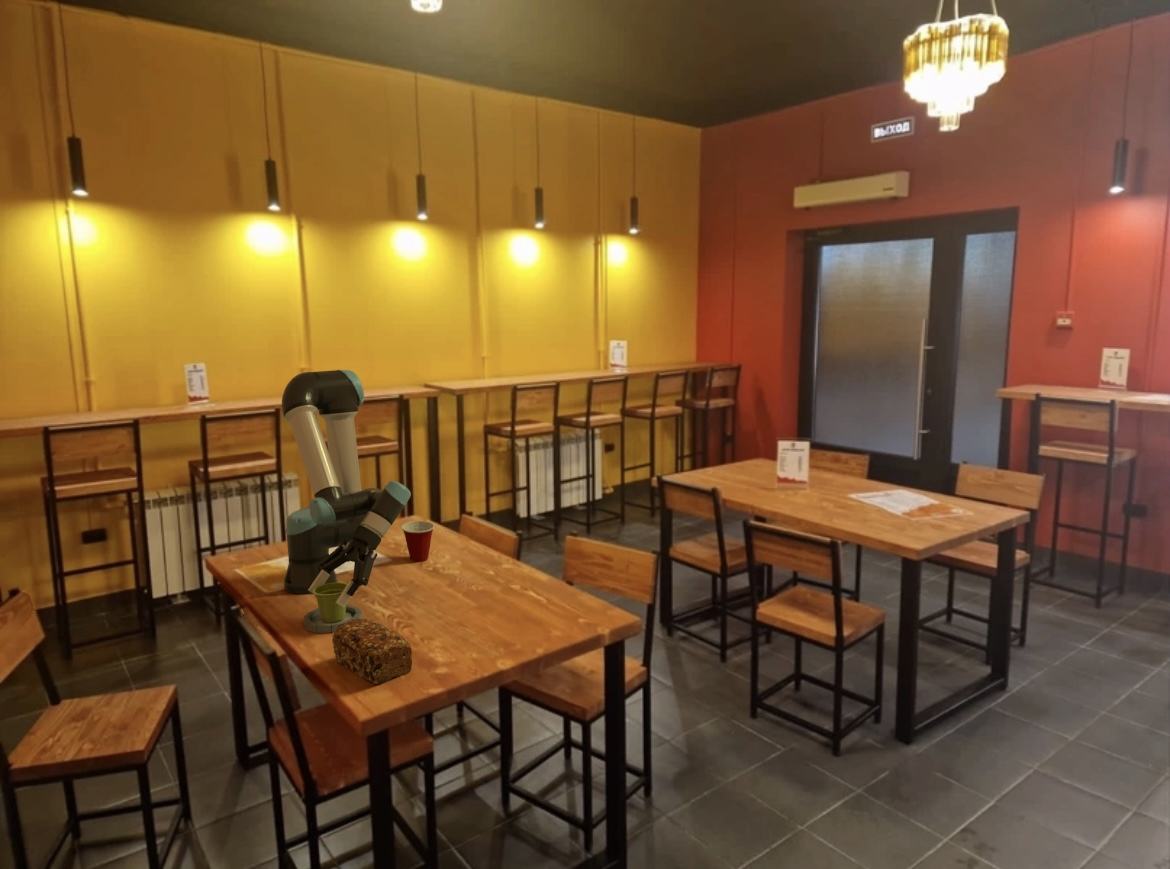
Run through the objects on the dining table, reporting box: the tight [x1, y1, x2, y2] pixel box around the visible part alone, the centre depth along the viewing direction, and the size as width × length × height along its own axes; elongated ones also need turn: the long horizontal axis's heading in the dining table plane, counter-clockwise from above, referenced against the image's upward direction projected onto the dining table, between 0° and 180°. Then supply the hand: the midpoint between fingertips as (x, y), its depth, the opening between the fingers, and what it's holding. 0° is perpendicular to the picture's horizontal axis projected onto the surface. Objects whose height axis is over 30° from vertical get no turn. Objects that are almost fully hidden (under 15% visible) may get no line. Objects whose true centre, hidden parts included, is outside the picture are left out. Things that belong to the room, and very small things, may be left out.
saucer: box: [303, 604, 363, 634], centre depth 211 cm, size 14×14×2 cm
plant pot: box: [312, 581, 348, 623], centre depth 211 cm, size 9×9×9 cm
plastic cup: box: [401, 520, 435, 563], centre depth 262 cm, size 11×11×12 cm
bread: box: [331, 618, 413, 685], centre depth 184 cm, size 19×11×10 cm, turn 46°
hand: (325, 599), depth 209 cm, fingers open, 13 cm apart
